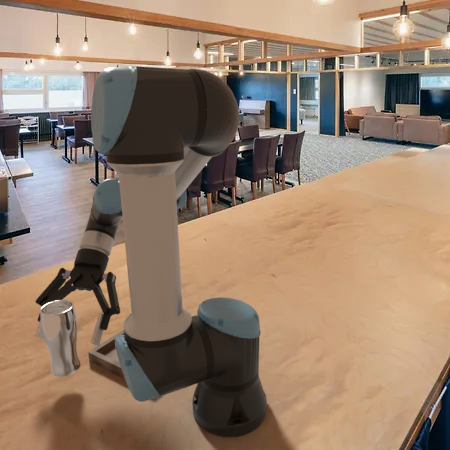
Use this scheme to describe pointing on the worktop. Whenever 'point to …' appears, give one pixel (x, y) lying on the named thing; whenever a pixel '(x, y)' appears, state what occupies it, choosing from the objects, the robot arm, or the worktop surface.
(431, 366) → the worktop surface
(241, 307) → the robot arm
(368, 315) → the worktop surface
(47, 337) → the silver metal cup
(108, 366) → the walnut tray
